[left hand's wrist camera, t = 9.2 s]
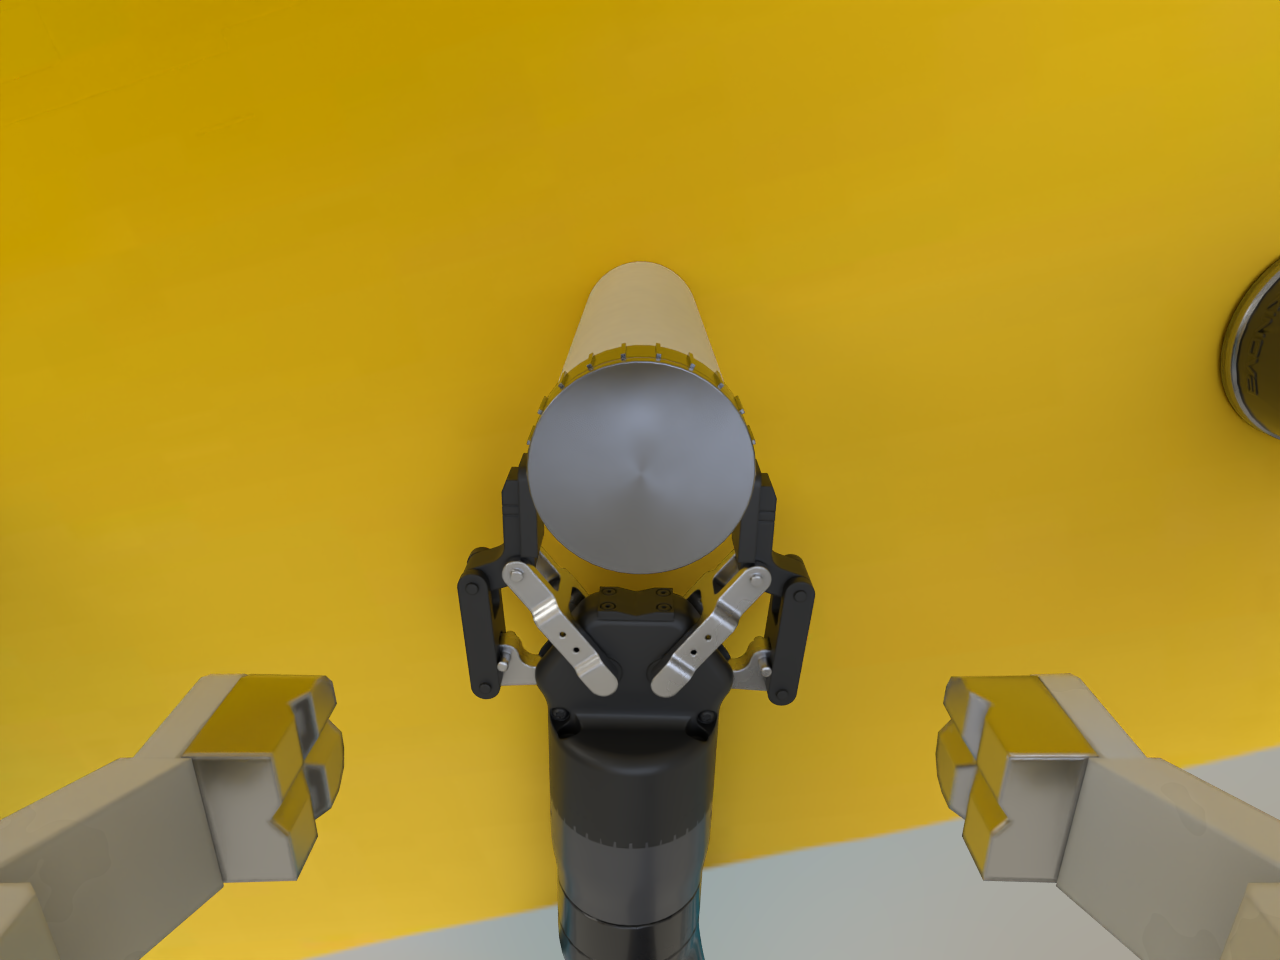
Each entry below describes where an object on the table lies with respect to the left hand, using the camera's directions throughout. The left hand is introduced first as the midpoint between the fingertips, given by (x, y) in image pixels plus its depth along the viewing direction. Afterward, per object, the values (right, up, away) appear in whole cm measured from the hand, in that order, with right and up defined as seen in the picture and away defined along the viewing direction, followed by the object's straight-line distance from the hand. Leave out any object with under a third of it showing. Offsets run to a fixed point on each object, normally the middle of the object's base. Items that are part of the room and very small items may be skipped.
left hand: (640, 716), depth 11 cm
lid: (0, +3, +8) cm, 9 cm away
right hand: (0, +4, +21) cm, 21 cm away
